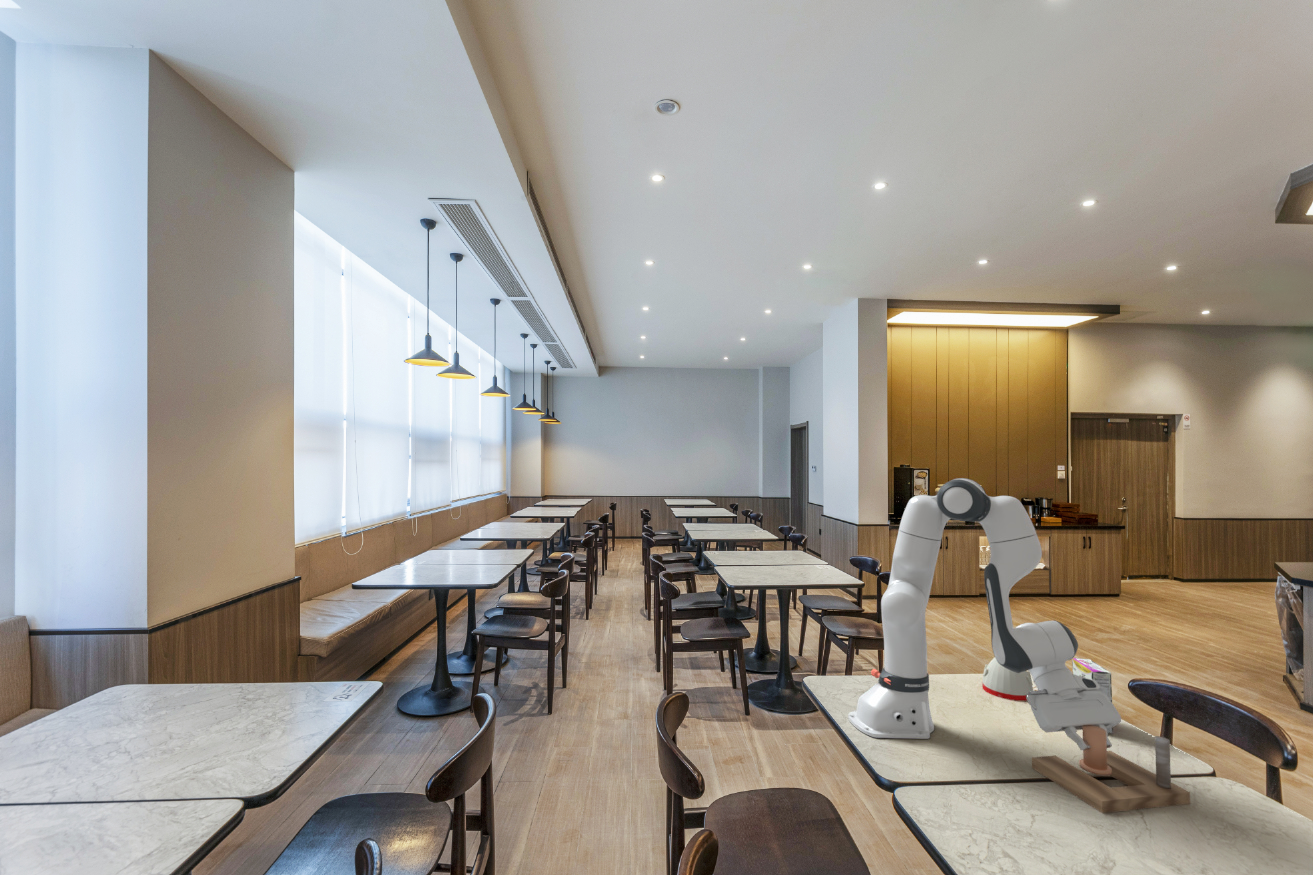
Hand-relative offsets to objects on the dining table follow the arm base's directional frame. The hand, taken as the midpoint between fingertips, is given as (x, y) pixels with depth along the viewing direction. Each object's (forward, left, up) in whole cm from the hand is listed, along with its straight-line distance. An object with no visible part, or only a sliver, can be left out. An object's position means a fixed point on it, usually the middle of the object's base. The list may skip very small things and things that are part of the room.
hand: (1097, 748), depth 133 cm
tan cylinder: (0, +1, -5) cm, 5 cm away
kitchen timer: (+19, +49, -7) cm, 53 cm away
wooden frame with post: (0, -2, -7) cm, 7 cm away
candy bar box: (+25, +25, -7) cm, 36 cm away
